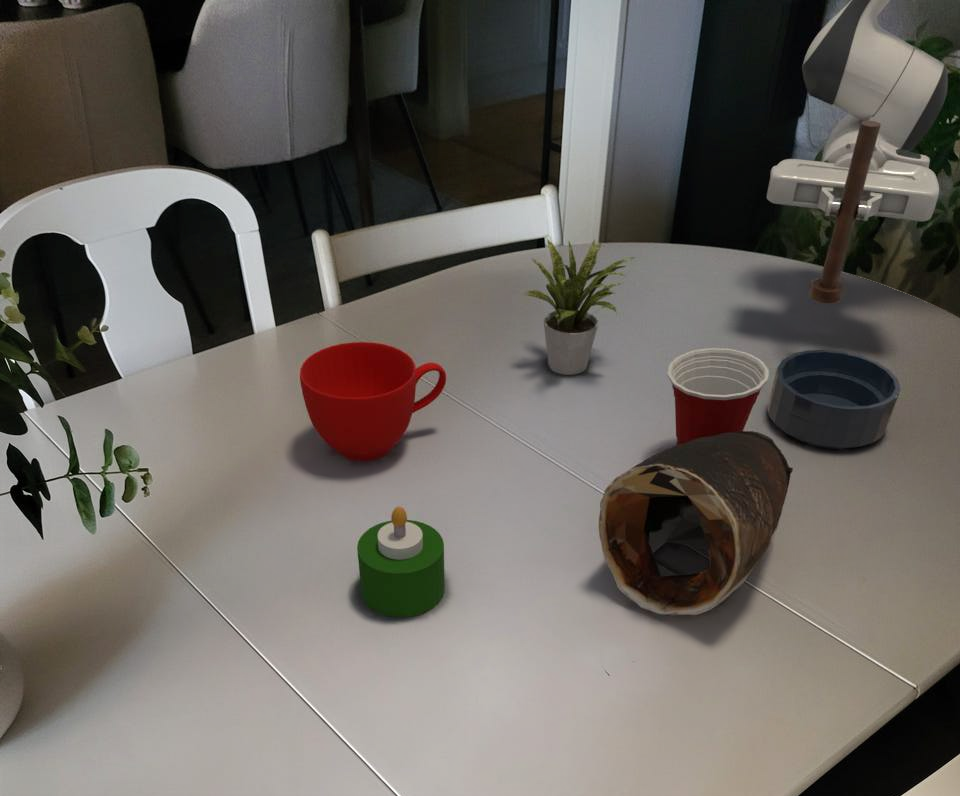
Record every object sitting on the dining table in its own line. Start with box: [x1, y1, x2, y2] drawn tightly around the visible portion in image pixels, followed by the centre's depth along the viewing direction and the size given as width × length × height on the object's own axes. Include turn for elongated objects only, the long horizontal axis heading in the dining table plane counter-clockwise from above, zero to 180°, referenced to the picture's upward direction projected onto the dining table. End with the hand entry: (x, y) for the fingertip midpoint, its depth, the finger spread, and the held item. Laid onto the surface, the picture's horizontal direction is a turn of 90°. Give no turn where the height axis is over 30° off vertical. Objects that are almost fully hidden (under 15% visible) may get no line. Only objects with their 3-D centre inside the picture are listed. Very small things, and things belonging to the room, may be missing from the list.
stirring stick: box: [809, 121, 881, 305], centre depth 119 cm, size 4×4×21 cm
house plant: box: [524, 238, 637, 376], centre depth 124 cm, size 14×14×16 cm
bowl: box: [767, 349, 901, 450], centre depth 119 cm, size 14×14×6 cm
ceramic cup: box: [299, 341, 447, 462], centre depth 113 cm, size 13×17×10 cm
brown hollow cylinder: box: [598, 430, 794, 616], centre depth 98 cm, size 15×15×25 cm
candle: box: [356, 506, 446, 618], centre depth 93 cm, size 8×8×10 cm
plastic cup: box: [667, 347, 770, 445], centre depth 110 cm, size 11×11×12 cm
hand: (848, 212), depth 118 cm, fingers closed on stirring stick, 2 cm apart
